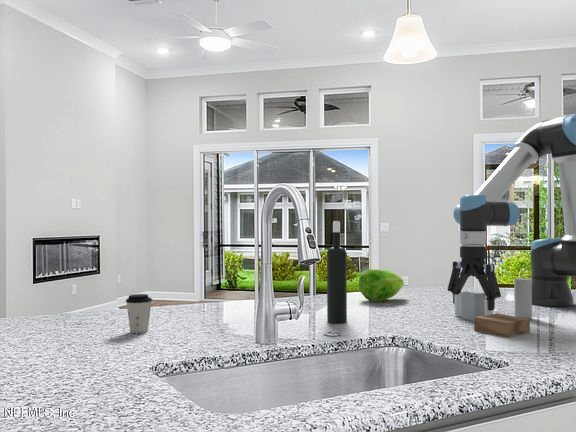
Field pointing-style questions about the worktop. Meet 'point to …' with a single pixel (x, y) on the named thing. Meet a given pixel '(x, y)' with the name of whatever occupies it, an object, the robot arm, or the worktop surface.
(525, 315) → the beverage can
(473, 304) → the slate block
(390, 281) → the lettuce
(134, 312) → the coffee cup
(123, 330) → the worktop surface
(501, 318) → the walnut block
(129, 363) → the worktop surface
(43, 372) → the worktop surface
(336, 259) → the wine bottle
